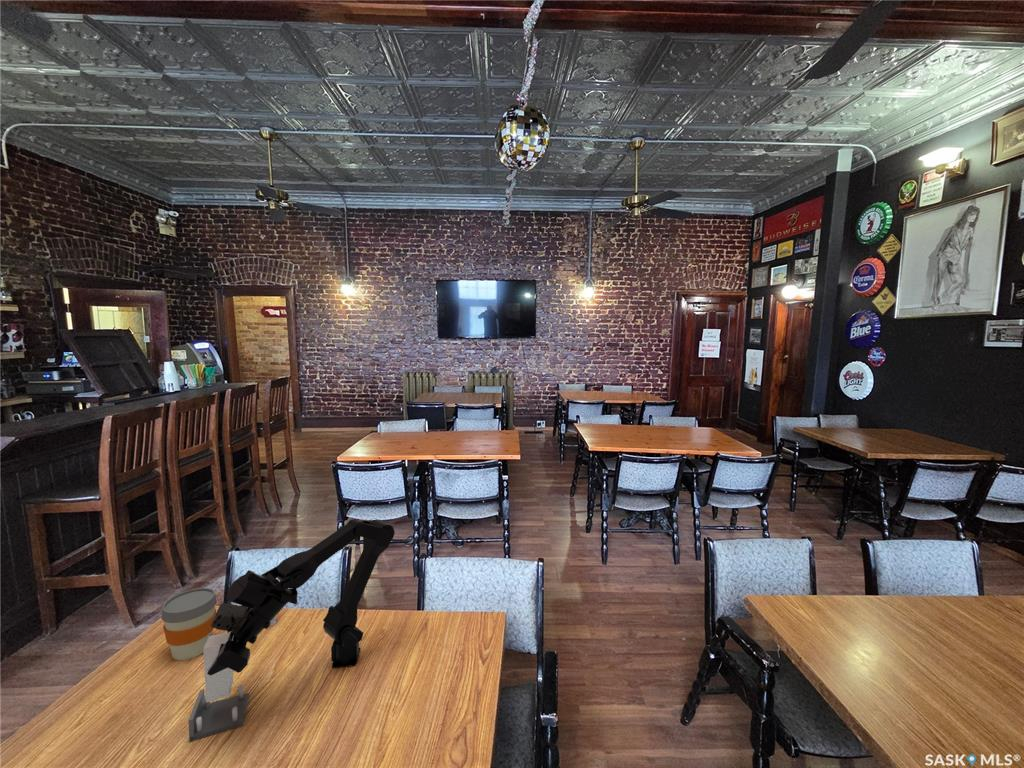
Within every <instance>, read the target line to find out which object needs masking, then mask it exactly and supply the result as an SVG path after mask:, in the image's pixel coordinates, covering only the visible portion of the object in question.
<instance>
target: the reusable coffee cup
mask: <svg viewBox="0 0 1024 768" xmlns="http://www.w3.org/2000/svg"><path fill="white" fill-rule="evenodd" d="M217 603H218V601H217V596H216V592H215V590H214V589H213V588H210V587H209V588H208V587H197V588H193V589H188V590H186V591H182V592H180V593H178V594H176V595H174V596H172V597H170V598H168V600H166V601H165V602H164V603H163V605H162V607H161V609H162V610H161V620H162V621H163V623H164V624H163V626H162V627H163V631H164V632H163V633H164V636H165V640H166V643H167V644H168V645H169V647H170V652H171V656H172V659H174V660H175V661H186V660H190V659H193V658H196V657H198V656H200V655H201V654H204V652H203V648H204V646H205V644H206V641H207V639H208V637H209V636H213V630H214V629H215V628H213V627H211V623H212V621H213V619H214V616H215V614H216V612H217V609H216V606H217Z"/></svg>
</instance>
